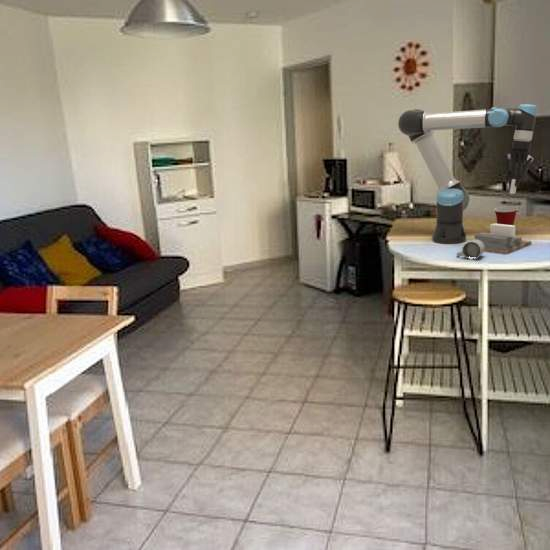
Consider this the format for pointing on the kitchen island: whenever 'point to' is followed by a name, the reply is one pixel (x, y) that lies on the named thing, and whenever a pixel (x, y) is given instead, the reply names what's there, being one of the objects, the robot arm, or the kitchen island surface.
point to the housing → (501, 243)
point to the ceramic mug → (472, 249)
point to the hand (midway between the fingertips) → (512, 193)
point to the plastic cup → (506, 215)
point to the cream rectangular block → (503, 229)
